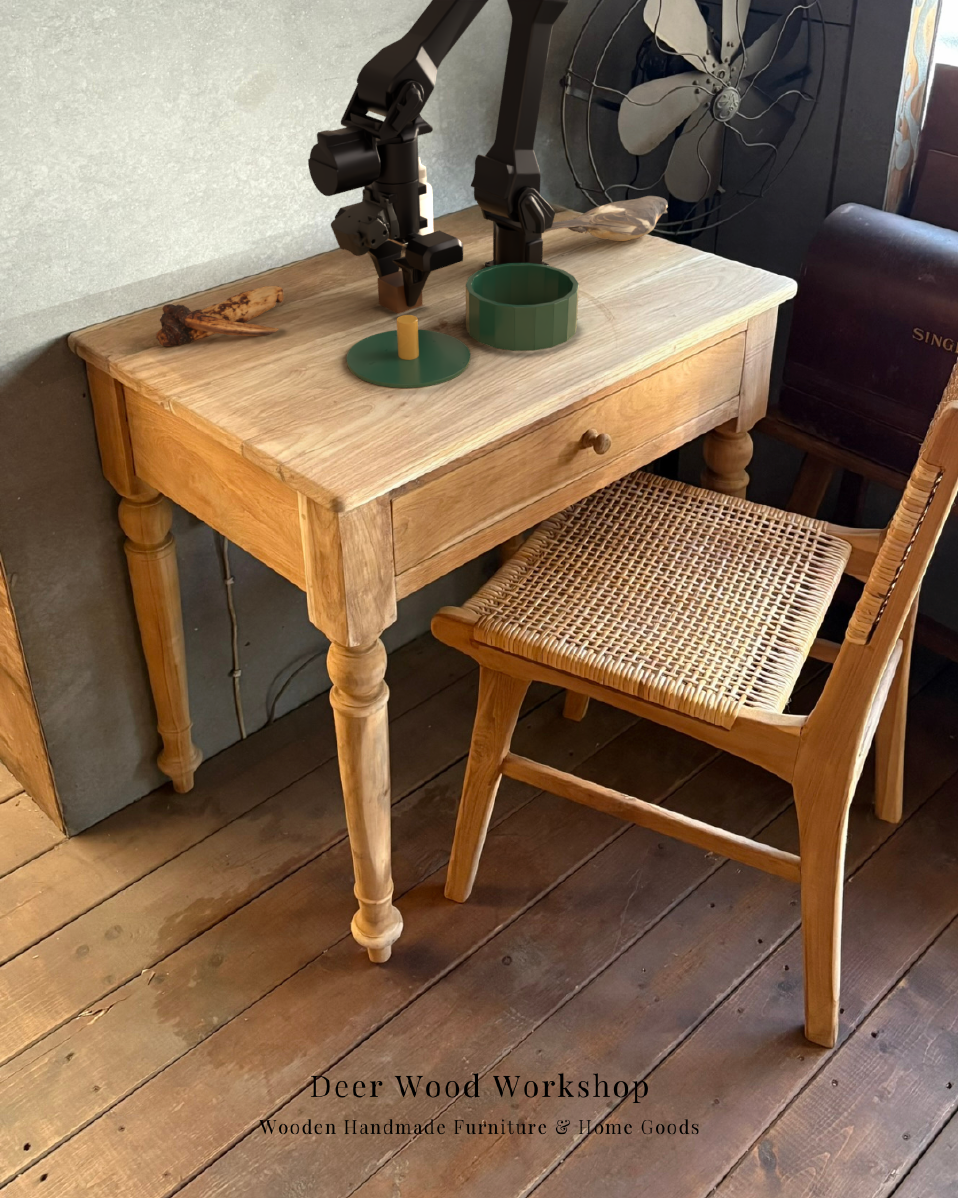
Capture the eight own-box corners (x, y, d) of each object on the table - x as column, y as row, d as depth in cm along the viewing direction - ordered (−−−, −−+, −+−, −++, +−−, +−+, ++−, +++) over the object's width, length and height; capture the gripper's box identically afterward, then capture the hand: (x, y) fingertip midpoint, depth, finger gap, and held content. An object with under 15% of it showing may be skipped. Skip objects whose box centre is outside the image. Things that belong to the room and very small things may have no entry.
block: (378, 307, 152) (377, 277, 149) (403, 299, 154) (402, 269, 151) (398, 317, 149) (396, 287, 147) (422, 309, 151) (422, 278, 149)
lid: (322, 361, 140) (318, 316, 136) (418, 327, 147) (416, 283, 144) (398, 405, 131) (396, 358, 128) (496, 366, 138) (496, 321, 135)
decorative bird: (684, 232, 173) (688, 197, 170) (553, 271, 161) (554, 234, 158) (654, 219, 177) (657, 185, 174) (523, 256, 165) (524, 221, 162)
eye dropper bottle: (444, 242, 170) (443, 156, 162) (414, 252, 167) (411, 165, 159) (425, 233, 172) (422, 148, 165) (394, 243, 169) (390, 157, 162)
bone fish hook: (190, 371, 139) (313, 322, 148) (184, 334, 136) (310, 287, 145) (147, 343, 144) (269, 298, 153) (140, 307, 141) (265, 263, 150)
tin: (443, 328, 147) (442, 282, 143) (524, 299, 154) (525, 254, 150) (517, 365, 139) (518, 317, 135) (599, 332, 146) (602, 285, 142)
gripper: (294, 172, 143) (305, 295, 152) (389, 212, 132) (395, 343, 141) (368, 152, 149) (375, 273, 158) (465, 190, 137) (466, 317, 147)
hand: (400, 300), depth 151 cm, fingers closed on block, 4 cm apart
